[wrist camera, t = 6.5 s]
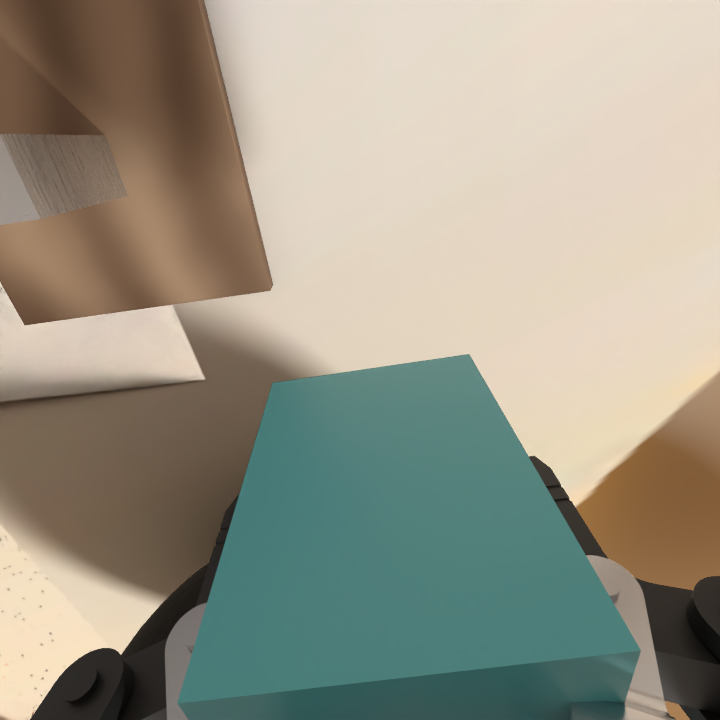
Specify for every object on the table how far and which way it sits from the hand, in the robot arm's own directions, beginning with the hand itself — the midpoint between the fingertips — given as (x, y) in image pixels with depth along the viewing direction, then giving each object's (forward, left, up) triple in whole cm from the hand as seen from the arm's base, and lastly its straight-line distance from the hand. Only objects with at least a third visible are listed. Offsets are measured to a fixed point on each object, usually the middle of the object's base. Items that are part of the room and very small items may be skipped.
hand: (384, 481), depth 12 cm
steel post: (+14, -9, -16) cm, 23 cm away
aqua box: (0, 0, -2) cm, 2 cm away
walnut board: (+14, -9, -18) cm, 24 cm away
